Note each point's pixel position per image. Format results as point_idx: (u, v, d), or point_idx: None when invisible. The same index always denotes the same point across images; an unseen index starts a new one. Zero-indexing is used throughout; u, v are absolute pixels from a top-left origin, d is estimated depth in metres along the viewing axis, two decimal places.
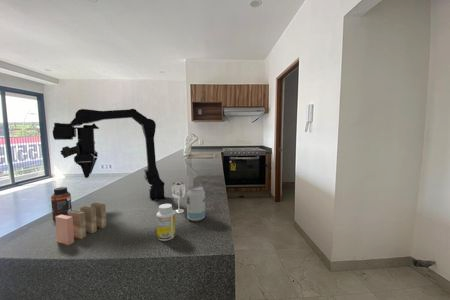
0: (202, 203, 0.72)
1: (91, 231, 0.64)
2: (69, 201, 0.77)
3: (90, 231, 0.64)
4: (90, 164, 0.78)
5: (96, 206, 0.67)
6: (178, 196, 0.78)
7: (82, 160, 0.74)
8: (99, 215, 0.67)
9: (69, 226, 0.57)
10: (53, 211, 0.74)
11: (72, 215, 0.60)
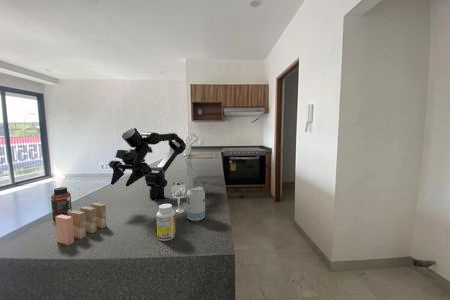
0: (202, 203, 0.72)
1: (91, 231, 0.64)
2: (69, 201, 0.77)
3: (90, 231, 0.64)
4: (139, 176, 0.79)
5: (96, 206, 0.67)
6: (178, 196, 0.78)
7: (146, 169, 0.77)
8: (99, 215, 0.67)
9: (69, 226, 0.57)
10: (53, 211, 0.74)
11: (72, 215, 0.60)
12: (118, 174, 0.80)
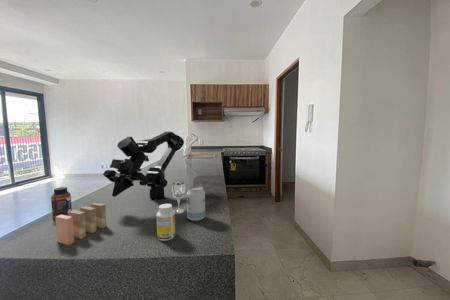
0: (202, 203, 0.72)
1: (91, 231, 0.64)
2: (69, 201, 0.77)
3: (90, 231, 0.64)
4: (128, 186, 0.78)
5: (96, 206, 0.67)
6: (178, 196, 0.78)
7: (142, 180, 0.75)
8: (99, 215, 0.67)
9: (69, 226, 0.57)
10: (53, 211, 0.74)
11: (72, 215, 0.60)
12: None
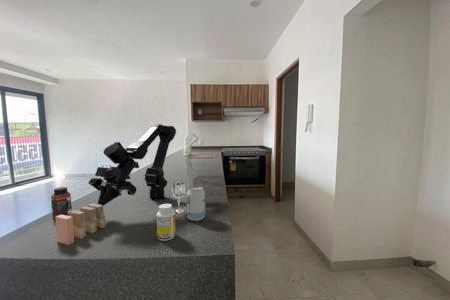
0: (202, 203, 0.72)
1: (91, 231, 0.64)
2: (69, 201, 0.77)
3: (90, 231, 0.64)
4: (115, 195, 0.72)
5: (93, 207, 0.66)
6: (178, 196, 0.78)
7: (130, 189, 0.69)
8: (97, 216, 0.66)
9: (69, 226, 0.57)
10: (53, 211, 0.74)
11: (72, 215, 0.60)
12: None
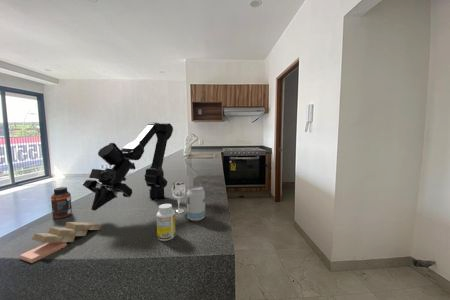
0: (202, 203, 0.72)
1: (83, 235, 0.61)
2: (69, 201, 0.77)
3: None
4: (110, 197, 0.70)
5: (71, 228, 0.60)
6: (178, 196, 0.78)
7: (125, 191, 0.67)
8: None
9: (44, 256, 0.51)
10: (53, 211, 0.74)
11: None
12: None
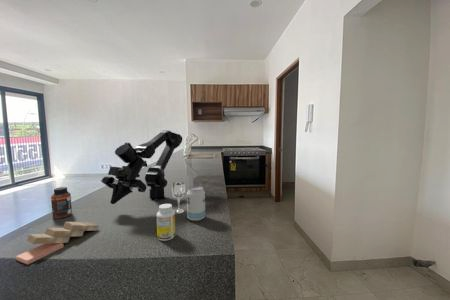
0: (202, 203, 0.72)
1: (79, 235, 0.61)
2: (69, 201, 0.77)
3: None
4: (126, 192, 0.77)
5: None
6: (178, 196, 0.78)
7: (140, 187, 0.74)
8: None
9: None
10: (53, 211, 0.74)
11: None
12: None
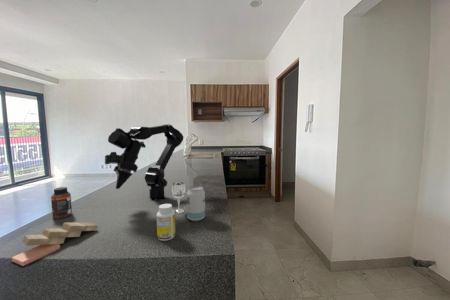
0: (202, 203, 0.72)
1: None
2: (69, 201, 0.77)
3: None
4: (127, 176, 0.79)
5: None
6: (178, 196, 0.78)
7: (127, 167, 0.73)
8: None
9: (36, 259, 0.50)
10: (53, 211, 0.74)
11: None
12: None
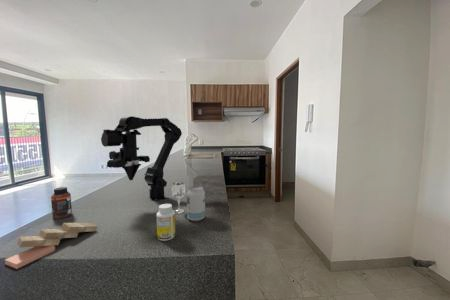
0: (202, 203, 0.72)
1: None
2: (69, 201, 0.77)
3: None
4: (129, 168, 0.83)
5: None
6: (178, 196, 0.78)
7: (110, 166, 0.77)
8: None
9: (30, 261, 0.49)
10: (53, 211, 0.74)
11: None
12: None
